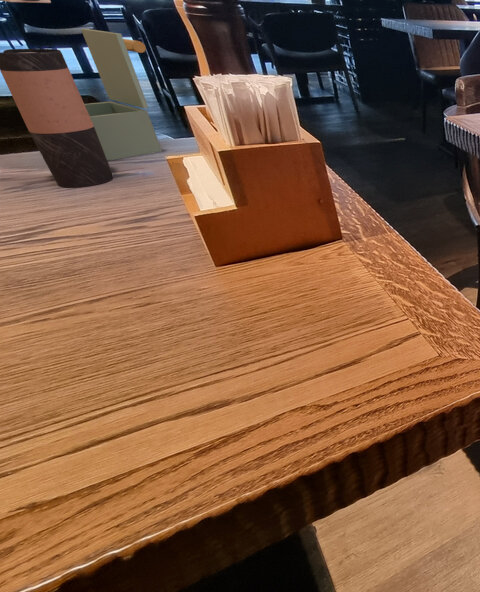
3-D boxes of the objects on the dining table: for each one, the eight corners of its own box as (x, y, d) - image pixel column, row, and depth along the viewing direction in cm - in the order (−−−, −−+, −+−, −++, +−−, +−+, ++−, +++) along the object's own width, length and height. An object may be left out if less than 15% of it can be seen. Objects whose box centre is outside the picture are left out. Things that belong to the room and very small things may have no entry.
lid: (115, 33, 90) (151, 33, 94) (80, 28, 97) (115, 28, 101) (143, 108, 96) (176, 104, 100) (109, 99, 103) (140, 96, 107)
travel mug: (124, 180, 89) (70, 51, 79) (66, 191, 83) (0, 54, 73) (103, 172, 92) (49, 47, 82) (47, 182, 86) (-19, 49, 77)
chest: (89, 170, 92) (66, 119, 88) (57, 157, 99) (34, 108, 95) (164, 157, 101) (147, 110, 97) (130, 146, 108) (112, 101, 103)
